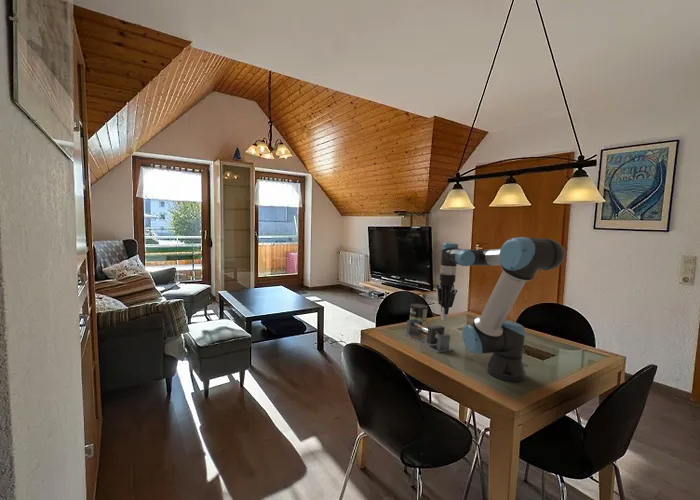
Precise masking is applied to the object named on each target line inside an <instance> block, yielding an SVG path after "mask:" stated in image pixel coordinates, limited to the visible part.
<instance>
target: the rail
mask: <svg viewBox="0 0 700 500" xmlns="http://www.w3.org/2000/svg"><path fill="white" fill-rule="evenodd" d="M418 329H419V330H422V332H421V331H418ZM423 332H424V333H426V334H424V333H423ZM402 334H403V335H404V334H405V335H404V336H406V335H407V337H409V339H412V340H413V339H414V341H415V340H416V342H417V343H419V344H421V345H423V346H424V347H426V348H428V349H429V350H432V351H433V352H435V353H437V354H440V353H447V352H452V351H454V349H453V348H452V347H450V343H451V342H450V341H451V335H450V334H449V333H444V334H438V333H437V332H435V334H434V338H437V344H432V345H430V344H429V343H427V335H428V327H426V328H425V327H423V326H422V325H420V324H418V320H416V319H414V320H410V319H407V322H406V331H403V332H402Z"/></svg>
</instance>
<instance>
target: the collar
mask: <svg viewBox="0 0 700 500" xmlns="http://www.w3.org/2000/svg"><path fill="white" fill-rule="evenodd" d="M427 328H428V333H427V334H426V335H427V343H429V344H430V345H432V344H437V338H436V337H434V334H435V332H436V333H438V334H445V326H442V325H433V326H428V327H427Z"/></svg>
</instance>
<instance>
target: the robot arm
mask: <svg viewBox="0 0 700 500" xmlns="http://www.w3.org/2000/svg"><path fill="white" fill-rule="evenodd" d="M502 244H503V245H502V246H501V248H493V249H491V248H490V249H474V248H473V249H469V248H459V244H458V243H456V242H455V243H454V242H444V243H442V247H441V258H440V269H439V272H440V274H439V281H440V283H439V284H437V285H435V286H436V290H437V302H438V305H440V312H441V313H440V314H441V316H440V320H441V321H447V320H448V315H449V309H450V308H452V307H453V306H454V303H455V298H456V294H457V293H458V289H455V285H454V284H455V283H456V278H457V277H456V273H457V266H458V265H459V266H461V267H470V266H484V267H485V266H486V267H488V266H489V267H491V266H500V268H501V270H502V272H501V274H500V276H499V278H498V280H497V282H496V284H495V286H494V288H493V290H492V293H491V294H490V296H489V298H488V300H487V302H486V304H485V306H484V308H483V310H482V311H483V312H482V311H481V314H480V315H478V316H476V317H475V318H474V319H473V322H472V324H467V325H464V326H463V329H462V332H461V333H462V337H461V338H462V341H463V343H464V346H465V348H466V349H467V350H468V352H470V353H471V354H477V355H481V354H492V355H491V356H490V358H489V360H488V363H487V365H486V371H487V372H486V373H488V374H490V375H491V376H492V377H494V378H496V379H500V380H501V381H502V380H503V381H505V382H514V383H517V382H523V381H524V380H525V379H526V370H525V367H524V362H523V355H524V353H523V352H524V345H525V337H526V335H525V333H526V332H525V330H526V329H525V326H524V325H522V324H520V323H518V322H516V321H511V320H508V319H507V318H508V317H507V316H509V314H510V312H511V310H512V308H513V306H514V304H515V302H516V301H517V298H518V297H519V295H520V294H521V291H522V289H523V287H524V286H525V284H526V282H530V281H532V280H533V279H534V277H535V276H536V274H537V272H538V271H551V270H554V269H557V268H558V267H559V266H561V265H562V264H563V262H564V260H565V249H564V247H563V246H562V245H561V243H559V242H558V241H556V240H554V239H552V238H541V237H540V238H538V237H537V238H535V237H525V236H520V237H511V238H509V239H508V240H506V241H505V242H504V243H502Z"/></svg>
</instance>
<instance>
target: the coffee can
mask: <svg viewBox="0 0 700 500" xmlns="http://www.w3.org/2000/svg"><path fill="white" fill-rule="evenodd" d="M409 309H410V311H409V313H410V314H409V320H414V319H416V320H418V324H420V325H422V326H423V327H425V328H427V320H428V319H427V318H428V317H427V316H428V305H426V304H423V303H411V304H410V307H409ZM418 330H419V329H418ZM421 331H422V330H420V331H419V332H421ZM422 332H423V331H422Z"/></svg>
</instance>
